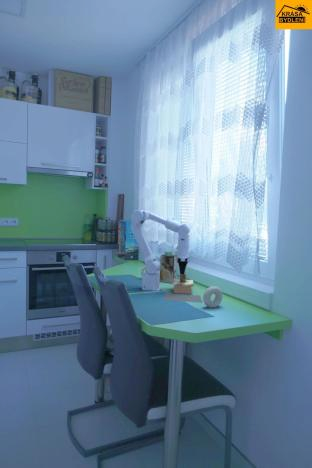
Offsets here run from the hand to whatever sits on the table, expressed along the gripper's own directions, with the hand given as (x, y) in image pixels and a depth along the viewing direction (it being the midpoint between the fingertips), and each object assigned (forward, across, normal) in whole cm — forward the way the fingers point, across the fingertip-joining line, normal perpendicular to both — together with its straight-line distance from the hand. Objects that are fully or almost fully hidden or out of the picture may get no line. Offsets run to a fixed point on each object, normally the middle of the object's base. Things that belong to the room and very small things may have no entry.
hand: (182, 272), depth 179 cm
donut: (+10, -27, -14) cm, 32 cm away
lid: (+5, -1, 0) cm, 6 cm away
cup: (+11, +29, +20) cm, 36 cm away
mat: (+10, -14, -1) cm, 18 cm away
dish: (+10, -1, 0) cm, 10 cm away
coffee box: (+11, +25, +8) cm, 28 cm away
